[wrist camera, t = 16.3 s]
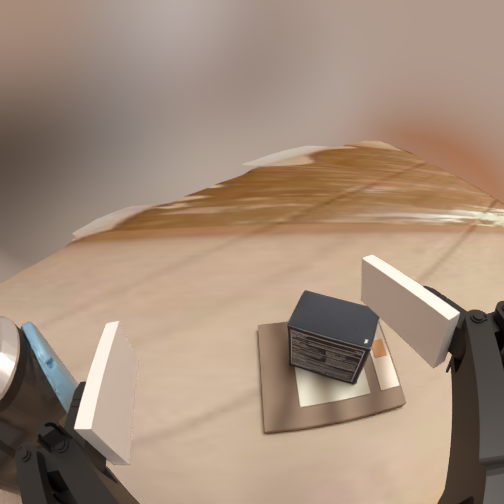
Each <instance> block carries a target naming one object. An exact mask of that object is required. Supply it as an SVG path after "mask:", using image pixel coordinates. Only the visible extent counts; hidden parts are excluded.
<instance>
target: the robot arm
mask: <svg viewBox="0 0 504 504" xmlns="http://www.w3.org/2000/svg"><path fill="white" fill-rule="evenodd" d="M361 301H362V302H364V303H365V304H366V305H367V306H368V307H369V308H370V309H371V310H372V311H373V312H374V313H376V314H377V315H378V316H379V317H380V318H381V319H382V320H383V321H384V322H385V323H386V324H387V325H389V326H390V327H391V328H392V329H393V330H394V331H395V332H396V333H397V334H398V335H399V336H400V337H401V338H402V339H403V340H404V341H405V342H407V343H408V344H409V345H410V346H411V347H412V348H413V349H414V350H415V351H416V352H417V353H418V354H419V355H420V356H421V357H422V358H423V359H424V360H425V361H426V362H427V363H428V364H429V365H430V366H431V367H432V368H433V369H434V368H435V367H437V366H438V365H440V364H441V363H442V362H444V361H445V358H446V356H447V353H448V352H450V353H451V354H452V357H451V359H450V362H449V364H448V367H447V369H446V372H448V371H449V369H450V367H451V375H452V433H451V447H450V457H449V465H448V473H447V479H446V485H445V490H444V492H443V495H442V496H441V498H440V500H439V501H438V504H504V301H500V302H498V304H497V305H496V309H495V312H492V313H489V314H486V313H484V312H483V311H480V310H470V311H468V312H467V311H466V310H464V309H463V308H461V307H460V306H458V305H457V304H455V303H454V302H453V301H451V300H450V299H447V297H445V296H444V295H441V293H439V292H438V291H436V290H435V289H433V288H430V287H427V286H423V287H422V286H421V285H419V284H418V283H416V282H415V281H413V280H412V279H410V278H409V277H407V276H406V275H404V274H402V273H401V272H399V271H398V270H396V269H395V268H393V267H392V266H390V265H388V264H387V263H385V262H384V261H382V260H380V259H379V258H377V257H376V256H374V255H370V256H367V257H364V258H362V283H361ZM138 367H139V359H138V357H137V355H136V353H135V352H134V350H133V348H132V346H131V344H130V342H129V340H128V338H127V336H126V334H125V332H124V330H123V328H122V326H121V324H120V322H119V321H117V322H112V323H107V324H106V326H105V329H104V331H103V334H102V337H101V340H100V342H99V345H98V348H97V351H96V354H95V357H94V360H93V363H92V366H91V369H90V372H89V375H88V379H87V382H80V384H79V385H78V383H77V382H76V381H75V379H74V378H73V376H72V375H71V374H70V372H69V371H68V369H67V368H66V367H65V365H64V364H63V363H62V361H61V360H60V359H59V357H58V356H57V354H56V353H55V352H54V350H53V349H52V348H51V346H50V345H49V343H48V342H47V341H46V339H45V338H44V337H43V335H42V334H41V332H40V331H39V330H38V329H37V327H36V326H35V325H34V324H33V323H32V322H27V323H26V324H23V325H22V326H21V329H19V328H18V327H17V326H16V325H15V324H14V322H13V321H11V320H10V319H9V318H8V317H5V316H0V489H2V490H5V491H8V492H11V493H14V494H17V495H21V498H22V503H23V504H140V503H139V502H138V501H137V500H136V499H135V498H134V497H133V496H132V495H131V494H130V493H129V492H128V491H127V489H126V488H125V487H124V486H123V485H122V484H121V482H120V481H119V480H118V479H117V478H116V477H115V475H114V474H113V473H112V472H111V470H110V469H109V468H108V467H107V466H106V459H107V460H108V461H110V462H111V463H112V464H113V465H130V449H131V433H132V420H133V409H134V399H135V390H136V382H137V374H138ZM64 424H65V426H64V428H63V427H62V426H63V425H64Z"/></svg>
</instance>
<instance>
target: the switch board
mask: <svg viewBox="0 0 504 504" xmlns="http://www.w3.org/2000/svg"><path fill="white" fill-rule="evenodd" d="M287 323H288V322H281V323H273V324H264V325H258V337H259V352H260V367H261V383H262V399H263V414H264V430H265V433H276V432H286V431H294V430H301V429H308V428H315V427H321V426H326V425H331V424H337V423H341V422H346V421H350V420H355V419H359V418H363V417H367V416H371V415H374V414H378V413H382V412H385V411H388V410H392V409H395V408H398V407H401V406H403V405H404V404H405V403H406V401H405V397H404V394H403V391H402V387H401V384H400V381H399V378H398V374H397V371H396V368H395V365H394V362H393V359H392V356H391V353H390V350H389V348H388V345H387V342H386V339H385V336H384V334H383V331H382V328H381V326H380V323H379V322H378V326H377V330H376V334H375V338H374V342H373V346H372V349H371V351H370V353H369V356H368V358H367V360H366V362H365V365H364V367H363V369H362V371H361V373H360V375H359V378H358V380H357V383H356V384H354V385H353V384H350V383H346V382H342V381H339V380H335V379H332V378H329V377H325V376H322V375H319V374H316V373H313V372H309V371H307V370H304V369H301V368H297V367H295V366H292V365H289V345H288V339H289V338H288V329H287Z"/></svg>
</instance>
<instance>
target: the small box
mask: <svg viewBox="0 0 504 504" xmlns="http://www.w3.org/2000/svg"><path fill="white" fill-rule="evenodd" d="M379 318H380V317H379V316H378V315H377V314H376V313H374V312H373V311H372V310H371V309H370V308H369V307H368V306H364V305H360V304H356V303H352V302H348V301H344V300H340V299H336V298H333V297H329V296H325V295H321V294H317V293H314V292H310V291H306V290H305V291H304V292H303V294H302V296H301V298H300V300H299V302H298V304H297V306H296V308H295V310H294V312H293V314H292V316H291V318H290V320H289V321H288V323H287V329H288V338H289V339H288V345H289V365H292V366H295V367H297V368H301V369H304V370H307V371H309V372H313V373H316V374H319V375H322V376H325V377H329V378H332V379H335V380H339V381H342V382H346V383H350V384H353V385H354V384H356V383H357V380H358V378H359V375H360V373H361V371H362V369H363V367H364V365H365V362H366V360H367V358H368V356H369V353H370V351H371V349H372V346H373V342H374V338H375V334H376V330H377V326H378V322H379Z"/></svg>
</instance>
